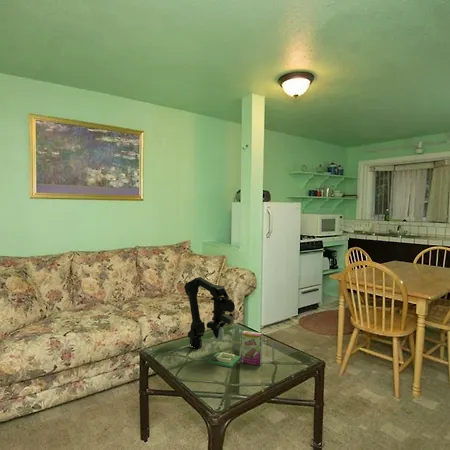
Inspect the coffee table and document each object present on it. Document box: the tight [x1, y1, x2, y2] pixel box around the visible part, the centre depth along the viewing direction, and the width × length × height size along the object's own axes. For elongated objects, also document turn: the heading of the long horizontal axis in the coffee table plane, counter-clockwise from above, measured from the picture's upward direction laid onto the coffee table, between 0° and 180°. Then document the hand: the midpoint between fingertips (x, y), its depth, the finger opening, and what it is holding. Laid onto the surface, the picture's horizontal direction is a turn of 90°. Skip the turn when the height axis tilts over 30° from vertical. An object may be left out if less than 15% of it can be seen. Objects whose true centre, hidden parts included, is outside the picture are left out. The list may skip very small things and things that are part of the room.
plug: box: [213, 327, 225, 341], centre depth 178 cm, size 5×4×6 cm
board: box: [207, 351, 241, 369], centre depth 174 cm, size 14×13×3 cm
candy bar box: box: [240, 330, 264, 367], centre depth 172 cm, size 11×5×16 cm, turn 71°
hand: (218, 336), depth 178 cm, fingers closed on plug, 4 cm apart
